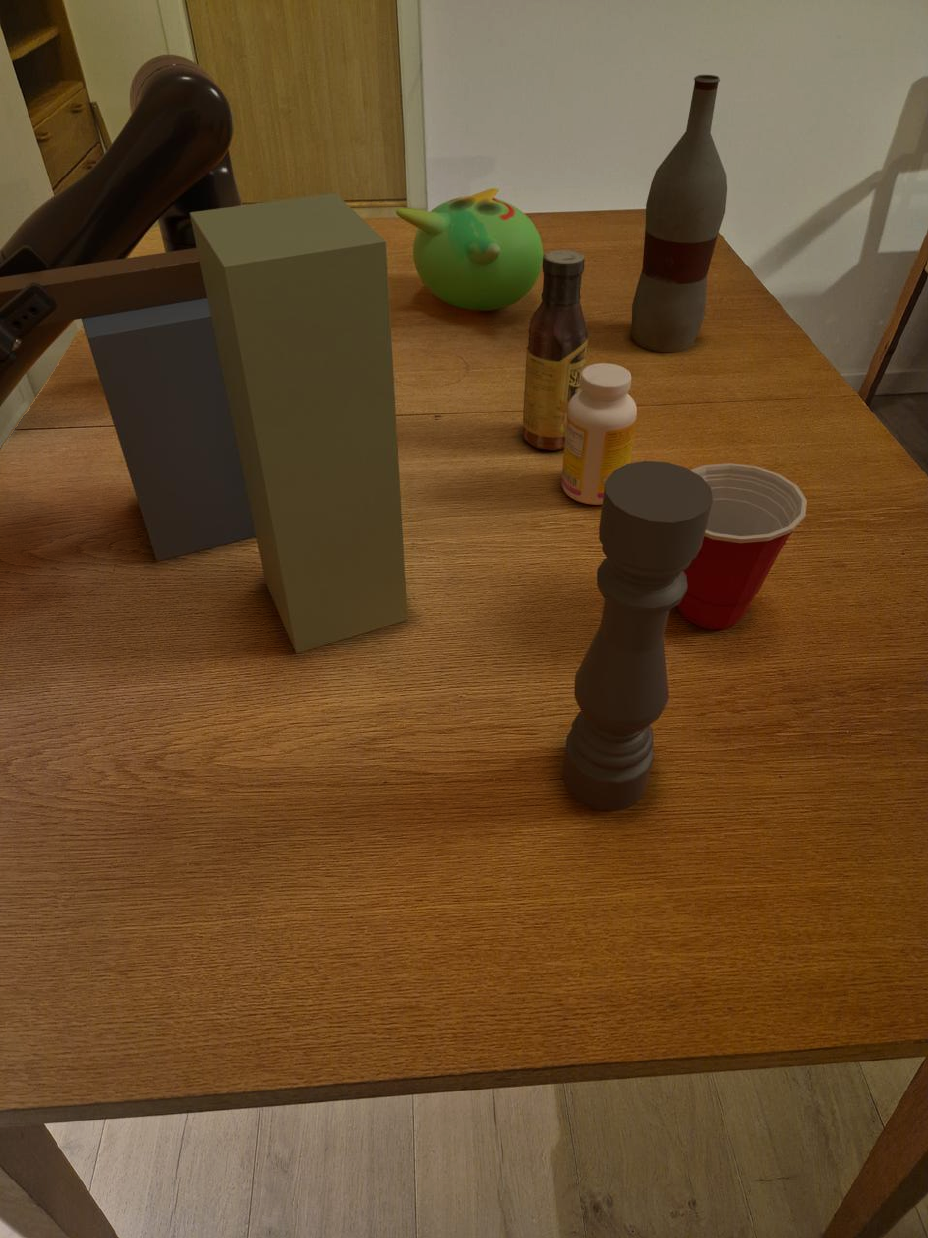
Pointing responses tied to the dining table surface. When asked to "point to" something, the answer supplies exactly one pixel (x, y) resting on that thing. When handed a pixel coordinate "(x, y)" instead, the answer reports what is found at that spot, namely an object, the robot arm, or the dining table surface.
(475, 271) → the toy bird
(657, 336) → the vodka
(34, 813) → the dining table surface
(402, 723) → the dining table surface
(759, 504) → the plastic cup
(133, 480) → the blue gray rectangular block
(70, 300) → the bar
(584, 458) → the supplement bottle
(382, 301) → the tall stand
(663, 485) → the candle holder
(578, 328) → the sauce bottle
